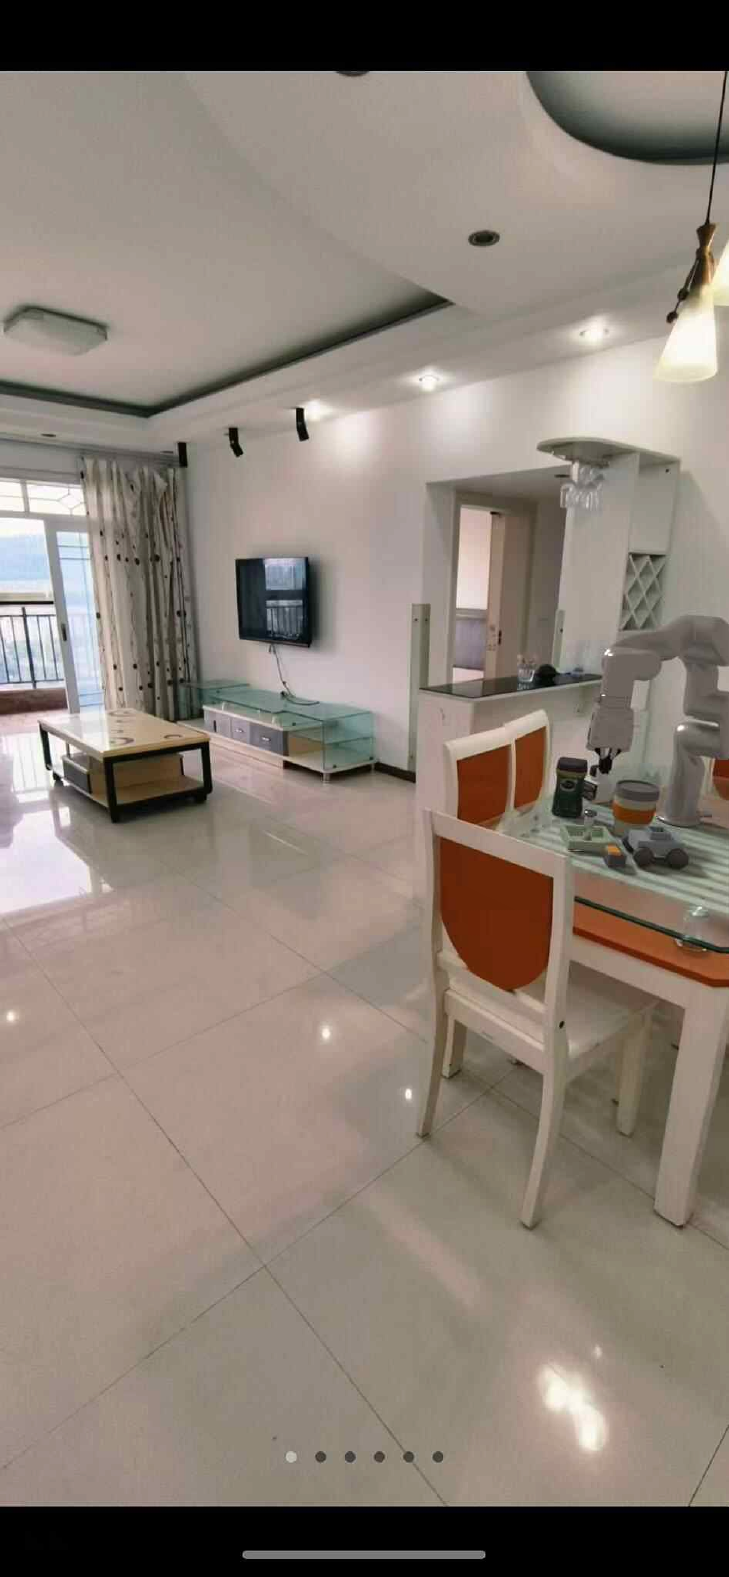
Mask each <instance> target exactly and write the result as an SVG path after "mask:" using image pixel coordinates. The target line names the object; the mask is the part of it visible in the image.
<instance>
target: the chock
mask: <svg viewBox="0 0 729 1577" xmlns="http://www.w3.org/2000/svg"><path fill="white" fill-rule="evenodd" d="M627 856H628V855H627V854H626V853H625V852H624V851H623V850H622V849H621V848H620V849H619V848H618V846H617V847H616V846H605V852H604V853H603V859H602V861H603V860H604V861H603V863H604V862H605V863H604V864H605V865H606V867H607V866H608V867H607V868H615V867H618V868H619V867H621V868H620V869H625V867H626V863H627Z"/></svg>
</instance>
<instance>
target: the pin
mask: <svg viewBox="0 0 729 1577" xmlns="http://www.w3.org/2000/svg"><path fill="white" fill-rule="evenodd" d="M583 815H585V816H584V821H583V825H584V828H583V835H582V840H585V841H591V840H592V833H593V826H595V825H594V823H595V819H596V818H595V817H597V815H598V811H597V810H595V809H592V808H591V809H590V808H589V809H588V808H587V809H584V810H583Z"/></svg>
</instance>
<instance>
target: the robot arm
mask: <svg viewBox="0 0 729 1577" xmlns="http://www.w3.org/2000/svg"><path fill="white" fill-rule="evenodd" d="M677 657H678V659H679V660H680V661H681V662H682V664H683V666H684V669H685V674H686V676H685V683H684V684H685V687H684V694H683V699H682V701H683V702H682V712H683V714H684V716H686V717H687V718H689V719H692V720H697V721H702V723H701V722H697V721H684V722H681V723H679V724H678V725H677V726H676V727H675V729H674V732H673V737H672V738H673V739H672V742H673V743H672V746H673V748H672V760H671V766H670V772H669V777H668V782H667V788H666V793H665V798H664V802H663V803H664V804H663V809H662V810H658V811H657V812H656V818H657V819H658V820H659V821H661V822H662V823H665V824H668V825H672V826H676V827H683V828H684V827H685V828H693V827H698V826H699V825H700V824H701V819H703V818H705V819H706V818H709V819H712V818H713V816H714V815H713V811H706V810H705V809H699V808H698V806H699V801H700V796H701V793H702V787H703V782H704V777H705V773H706V767H705V762H704V760H703V758H702V757H706V758H710V759H715V760H719V761H725V760H726V761H727V760H729V691H727V690H722V689H721V690H720V689H719V687H718V685H719V684H718V683H719V676H720V672H719V667H725V668H726V667H729V623H728V621H726V620H725V619H723V618H722V617H718V616H709V615H697V614H686V615H685V614H684V615H680V616H678V617H676V618H675V619H672V620H671V621H670V622H669V623H667V624H665V625H664V626H662V627H660V628H659V629H657V630H652V631H647V632H645V633H644V632H643V633H640V634H636V635H630V636H627V637H624V638H621V639H620V640H617V641H616V642H615V643H612V645H610V646H609V647H608V648H607V649H606V650H605V651H604V653H603V655H602V657H601V660H600V665H601V666H600V667H601V669H602V677H601V685H600V690H599V693H598V696H593V698H592V702H593V703H597V704H598V705H595V707H594V709H593V712H592V714H591V719H590V722H589V726H588V732H587V739H586V740H587V742H586V744H585V748H586V750H588V751H591V752H595V753H596V755H597V756H598V757H599V758H598V762H597V763H598V764H597V765H598V770H599V771H600V772H601V774H608V775H609V774H610V771H612V767H613V761H614V760H615V759H616V757H618V756H619V755H620V754H624V753H628V752H631V747H632V744H633V737H634V727H635V726H634V725H635V723H634V722H635V721H634V720H635V712H634V709H633V708H632V707H631V705H632V698H633V692H634V688H635V687H634V686H635V681H640V682H649V681H651V680H653V679H655V678H656V677H658V675H659V673H660V672H661V671H662V666H663V662H666V661H671V660H674V659H675V658H677ZM703 721H704V722H707V723H708V722H709V723H713V724H717V725H712V724H709V723H708V724H707V723H703ZM606 749H608V752H607V754H606Z"/></svg>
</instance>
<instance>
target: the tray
mask: <svg viewBox="0 0 729 1577" xmlns="http://www.w3.org/2000/svg"><path fill="white" fill-rule="evenodd" d="M559 824H560V825H559V829H558V831H559V832H558V834H559V836H560V838H561V840H562V842H563V844H564V845H566V846H565V848H566V847H567V848H566V850H567V849H568V850H581V851H589V852H588V853H595V852H597V854H598V853H599V854H604V852H605V846H616V847H617V848H618V843H617V840H615V839H614V837H613V835H612V834H611V833H610V831H609V830H608V828H607V827H606V826H604V825H602V826H601V825H594V826H593V833H592V840H591V841H585V840H582V835H583V828H584V824H568V823H559ZM568 850H567V851H568ZM590 851H591V852H590Z"/></svg>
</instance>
